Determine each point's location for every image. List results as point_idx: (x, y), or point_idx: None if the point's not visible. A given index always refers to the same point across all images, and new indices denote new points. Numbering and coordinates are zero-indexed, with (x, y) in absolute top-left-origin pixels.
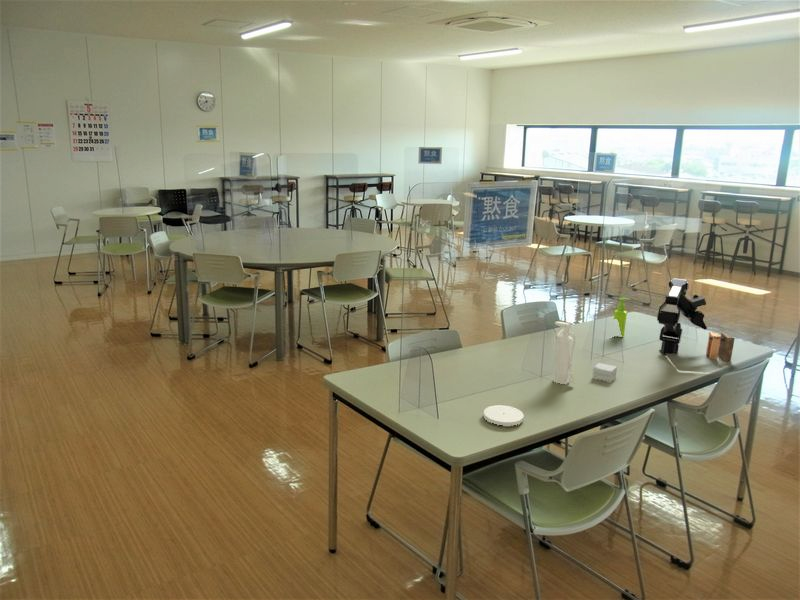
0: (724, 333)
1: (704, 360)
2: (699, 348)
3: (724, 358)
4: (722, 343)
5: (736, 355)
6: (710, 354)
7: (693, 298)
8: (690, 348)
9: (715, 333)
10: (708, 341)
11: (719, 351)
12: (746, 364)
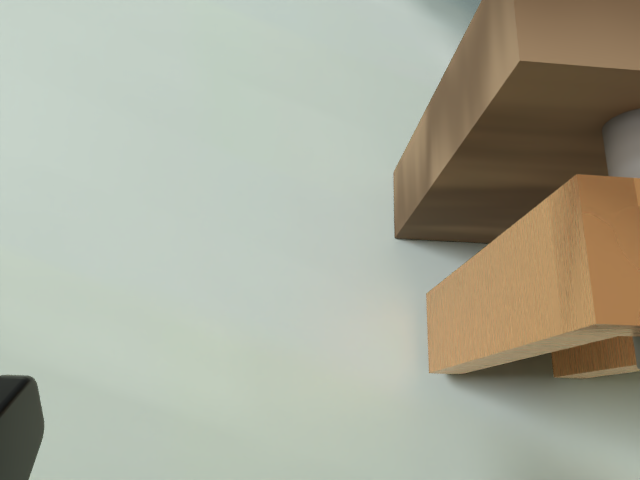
0: (581, 30)
1: (561, 436)
2: (102, 334)
3: None
4: (572, 160)
5: (300, 28)
6: (604, 373)
7: None
8: (112, 462)
9: (631, 208)
10: (530, 352)
11: (459, 212)
12: None
